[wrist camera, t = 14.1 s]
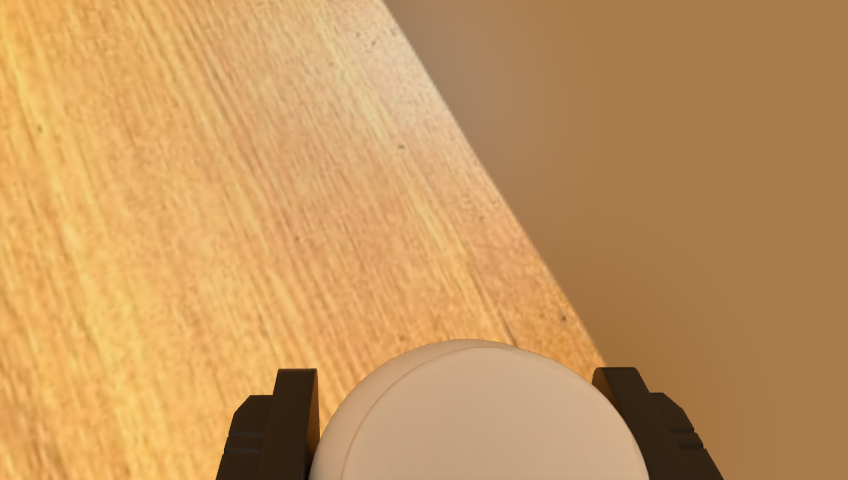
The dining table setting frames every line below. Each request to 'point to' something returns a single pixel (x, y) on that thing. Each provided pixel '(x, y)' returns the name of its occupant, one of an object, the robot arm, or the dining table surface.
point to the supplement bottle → (476, 421)
